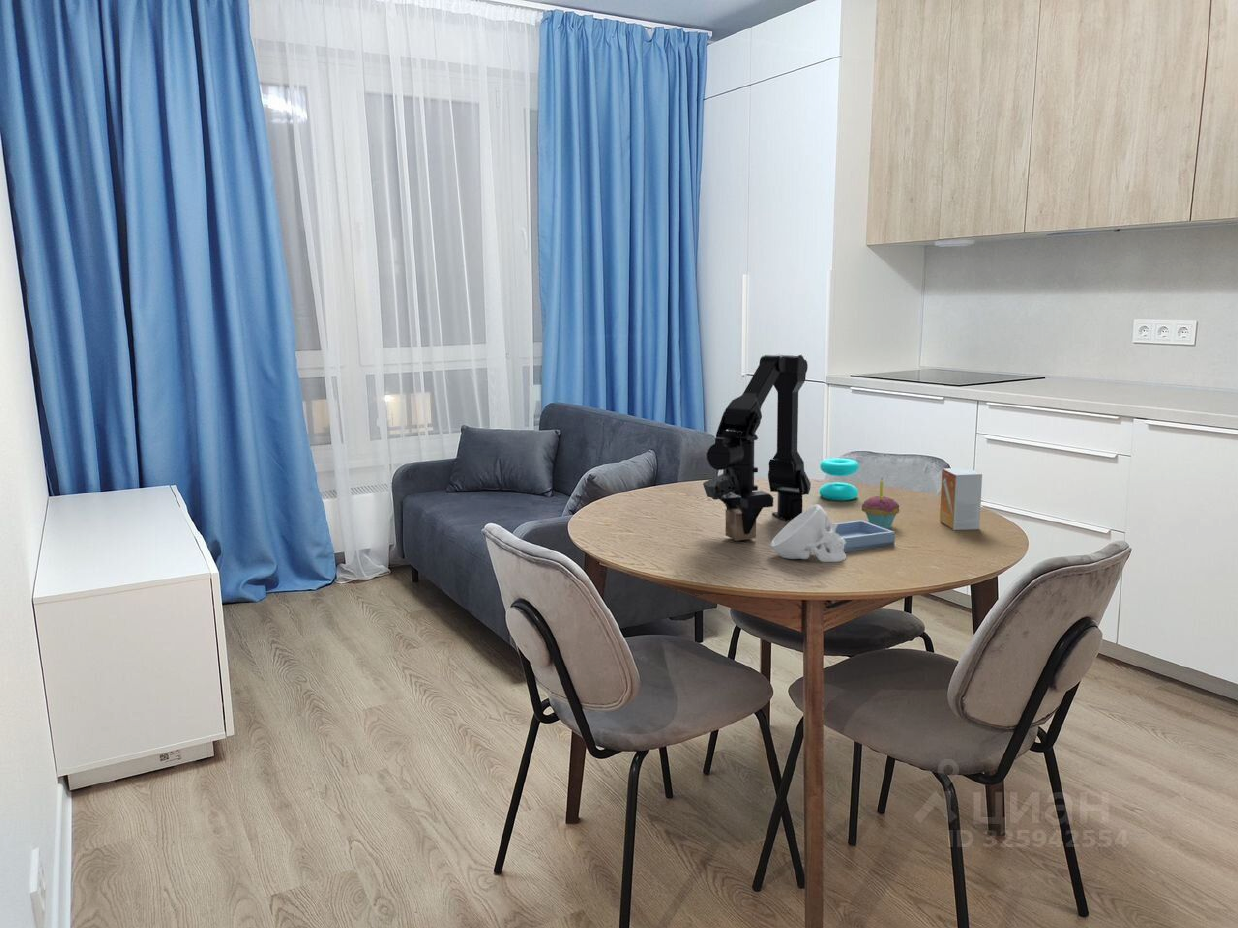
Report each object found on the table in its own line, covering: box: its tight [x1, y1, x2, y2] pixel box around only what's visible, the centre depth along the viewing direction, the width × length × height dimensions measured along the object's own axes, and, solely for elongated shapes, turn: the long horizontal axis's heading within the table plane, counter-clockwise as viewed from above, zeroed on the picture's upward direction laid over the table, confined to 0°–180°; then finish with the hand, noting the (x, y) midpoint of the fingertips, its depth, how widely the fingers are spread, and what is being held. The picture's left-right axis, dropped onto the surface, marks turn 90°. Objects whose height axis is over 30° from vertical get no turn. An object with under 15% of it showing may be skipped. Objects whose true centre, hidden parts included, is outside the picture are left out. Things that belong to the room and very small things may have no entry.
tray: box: [835, 519, 896, 553], centre depth 199 cm, size 12×14×3 cm
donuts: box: [819, 457, 860, 502], centre depth 242 cm, size 10×10×10 cm
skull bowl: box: [770, 503, 847, 563], centre depth 188 cm, size 10×14×12 cm
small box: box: [939, 467, 983, 531], centre depth 211 cm, size 8×6×13 cm
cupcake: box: [861, 477, 900, 530], centre depth 211 cm, size 9×8×12 cm
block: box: [725, 508, 757, 541], centre depth 202 cm, size 5×5×6 cm
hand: (740, 531), depth 203 cm, fingers closed on block, 5 cm apart
